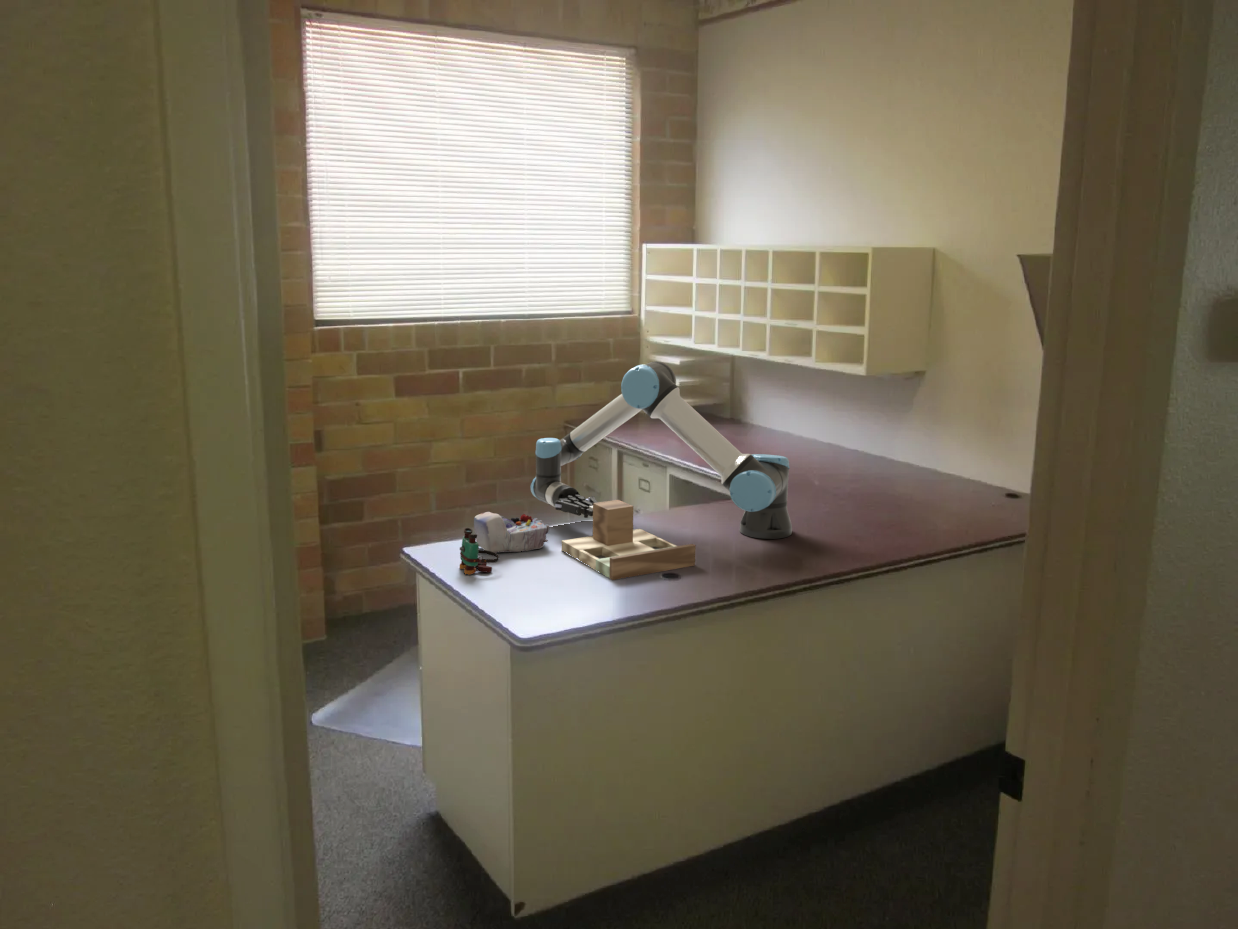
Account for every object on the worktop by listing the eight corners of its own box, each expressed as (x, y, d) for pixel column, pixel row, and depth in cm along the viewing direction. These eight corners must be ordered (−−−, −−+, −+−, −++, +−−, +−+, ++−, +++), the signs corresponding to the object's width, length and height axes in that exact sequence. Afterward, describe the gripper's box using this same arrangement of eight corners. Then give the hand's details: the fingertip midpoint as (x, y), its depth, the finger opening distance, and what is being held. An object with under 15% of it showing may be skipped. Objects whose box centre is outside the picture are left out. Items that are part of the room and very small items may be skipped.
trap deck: (561, 551, 273) (561, 531, 271) (639, 538, 285) (639, 520, 284) (612, 580, 250) (612, 559, 248) (695, 565, 262) (695, 545, 261)
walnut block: (592, 538, 274) (592, 503, 272) (617, 534, 278) (618, 499, 276) (607, 546, 268) (607, 509, 266) (632, 541, 272) (633, 506, 270)
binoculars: (504, 535, 252) (466, 535, 248) (500, 575, 254) (462, 576, 250) (494, 526, 260) (456, 526, 256) (490, 565, 262) (453, 566, 258)
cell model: (468, 509, 273) (532, 501, 284) (468, 547, 275) (532, 538, 286) (490, 519, 262) (556, 511, 273) (489, 559, 264) (555, 549, 275)
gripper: (582, 507, 299) (622, 526, 279) (543, 512, 292) (581, 532, 273) (582, 482, 297) (623, 500, 277) (543, 487, 291) (581, 505, 271)
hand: (602, 515), depth 275 cm, fingers closed
